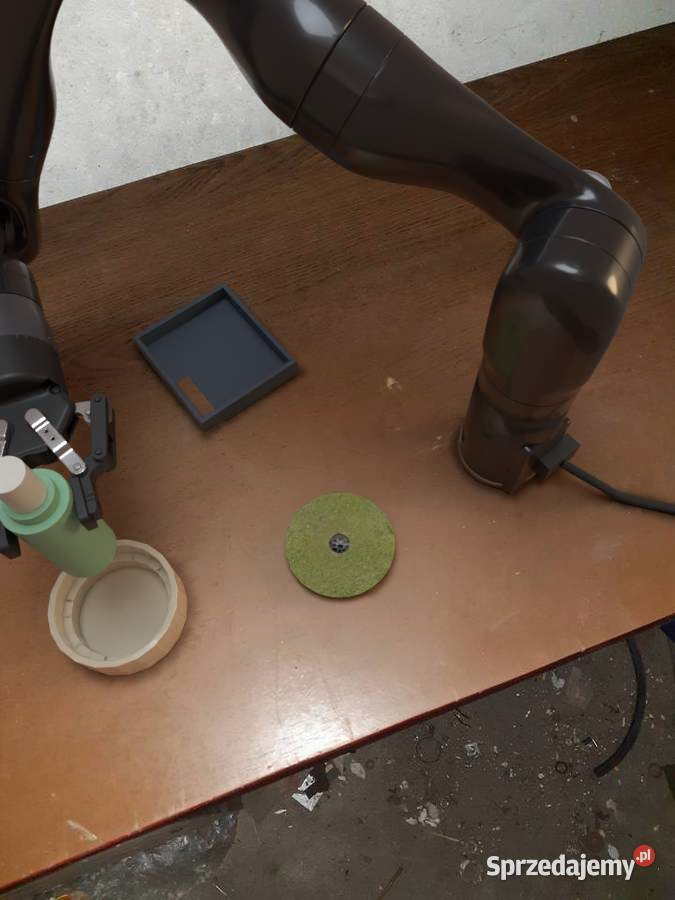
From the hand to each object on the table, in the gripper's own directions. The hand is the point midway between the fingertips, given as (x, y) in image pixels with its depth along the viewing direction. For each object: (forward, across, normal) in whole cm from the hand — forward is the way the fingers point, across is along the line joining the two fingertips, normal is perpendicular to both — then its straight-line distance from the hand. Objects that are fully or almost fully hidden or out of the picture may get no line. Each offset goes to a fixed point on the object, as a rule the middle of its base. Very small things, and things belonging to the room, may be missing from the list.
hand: (50, 539), depth 51 cm
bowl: (0, -1, +22) cm, 22 cm away
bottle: (-3, 0, +9) cm, 10 cm away
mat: (+2, +22, +22) cm, 31 cm away
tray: (-26, +17, +22) cm, 38 cm away
